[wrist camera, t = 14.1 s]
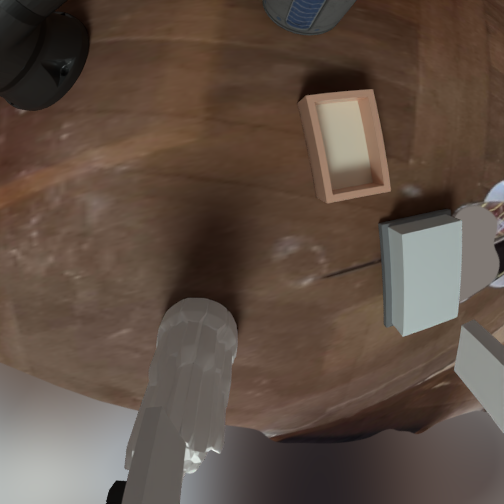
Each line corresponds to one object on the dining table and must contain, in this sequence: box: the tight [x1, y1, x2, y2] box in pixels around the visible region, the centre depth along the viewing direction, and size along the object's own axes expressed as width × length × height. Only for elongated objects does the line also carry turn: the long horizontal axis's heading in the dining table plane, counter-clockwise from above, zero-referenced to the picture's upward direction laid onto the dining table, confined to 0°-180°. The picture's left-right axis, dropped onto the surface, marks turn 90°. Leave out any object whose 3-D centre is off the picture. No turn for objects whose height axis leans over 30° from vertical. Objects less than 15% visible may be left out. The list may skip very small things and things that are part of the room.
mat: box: [378, 209, 451, 328], centre depth 41 cm, size 16×12×1 cm
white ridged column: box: [125, 298, 238, 481], centre depth 31 cm, size 11×11×25 cm
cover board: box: [388, 214, 462, 336], centre depth 39 cm, size 15×10×4 cm, turn 12°
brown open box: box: [297, 89, 391, 203], centre depth 34 cm, size 12×8×5 cm, turn 12°
